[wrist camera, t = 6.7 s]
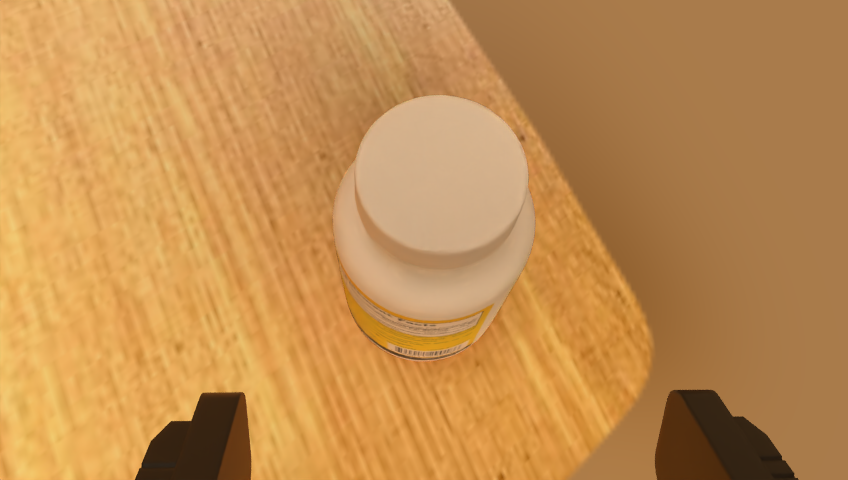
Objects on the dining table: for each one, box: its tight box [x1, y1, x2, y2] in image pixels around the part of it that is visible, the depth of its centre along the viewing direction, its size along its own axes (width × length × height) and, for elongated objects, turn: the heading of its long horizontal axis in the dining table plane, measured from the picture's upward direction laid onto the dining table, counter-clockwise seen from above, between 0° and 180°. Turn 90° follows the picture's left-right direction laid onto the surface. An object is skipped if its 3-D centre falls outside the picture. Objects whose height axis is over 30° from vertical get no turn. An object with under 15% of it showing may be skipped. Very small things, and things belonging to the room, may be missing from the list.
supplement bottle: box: [333, 95, 535, 361], centre depth 21 cm, size 5×5×10 cm
